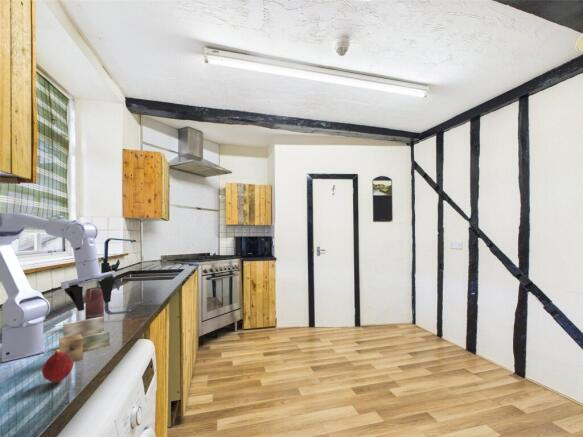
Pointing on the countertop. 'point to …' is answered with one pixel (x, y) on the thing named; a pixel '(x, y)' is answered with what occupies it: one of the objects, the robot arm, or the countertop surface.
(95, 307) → the can
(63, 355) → the onion
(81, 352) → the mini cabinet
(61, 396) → the countertop surface
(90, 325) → the wooden cubby shelf
